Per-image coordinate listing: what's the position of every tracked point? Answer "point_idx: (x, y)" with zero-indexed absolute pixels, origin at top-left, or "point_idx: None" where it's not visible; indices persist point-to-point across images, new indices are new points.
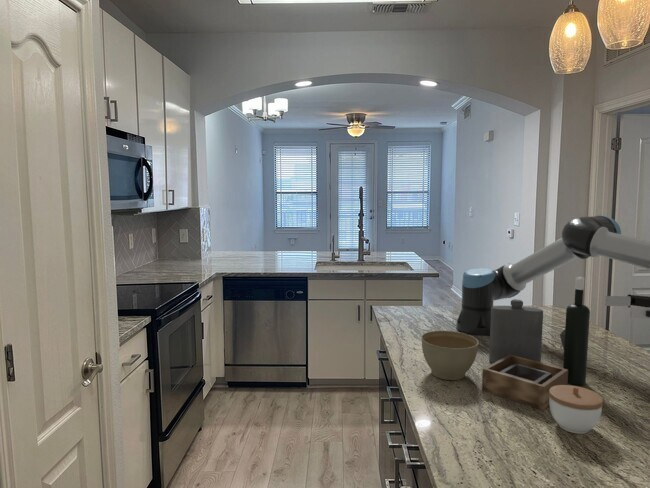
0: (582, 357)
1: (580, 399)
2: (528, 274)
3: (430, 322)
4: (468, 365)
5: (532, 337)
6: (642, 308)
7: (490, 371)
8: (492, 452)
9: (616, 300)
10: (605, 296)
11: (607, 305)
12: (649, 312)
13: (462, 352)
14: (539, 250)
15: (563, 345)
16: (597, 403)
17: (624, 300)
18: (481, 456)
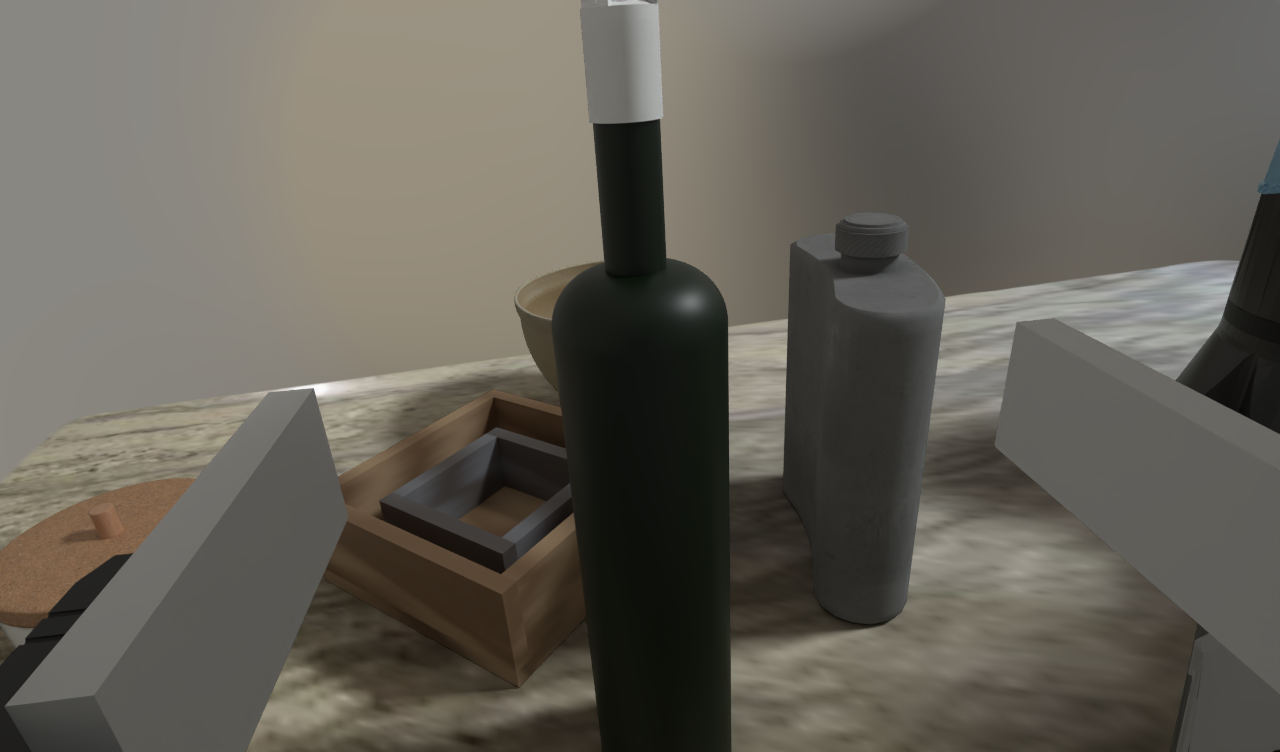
0: (589, 629)
1: (52, 538)
2: None
3: (1198, 343)
4: (555, 378)
5: (821, 446)
6: (206, 474)
7: (471, 402)
8: (125, 473)
9: (1105, 444)
10: (1042, 324)
11: (1008, 453)
12: (100, 579)
13: (521, 319)
14: None
15: (1181, 703)
16: None
17: (1228, 524)
18: (119, 459)
